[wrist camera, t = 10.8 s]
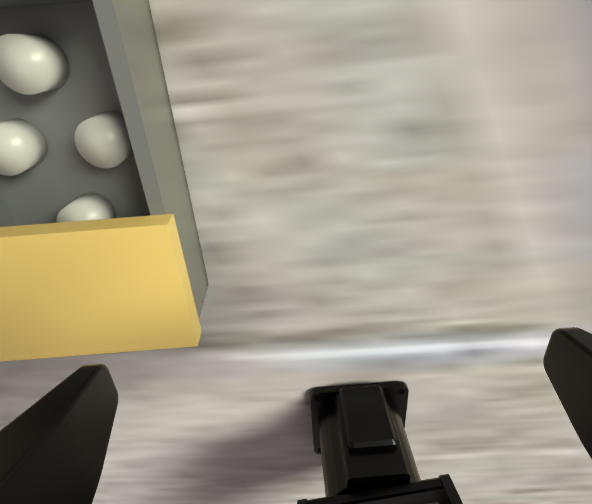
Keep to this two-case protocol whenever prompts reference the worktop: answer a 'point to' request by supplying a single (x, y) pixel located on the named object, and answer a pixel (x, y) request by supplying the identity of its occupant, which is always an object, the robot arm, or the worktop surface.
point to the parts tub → (91, 186)
